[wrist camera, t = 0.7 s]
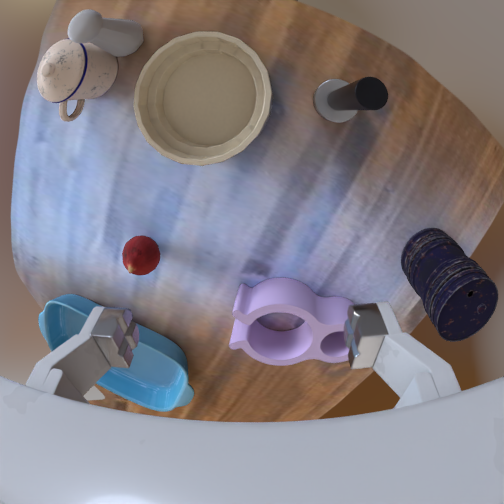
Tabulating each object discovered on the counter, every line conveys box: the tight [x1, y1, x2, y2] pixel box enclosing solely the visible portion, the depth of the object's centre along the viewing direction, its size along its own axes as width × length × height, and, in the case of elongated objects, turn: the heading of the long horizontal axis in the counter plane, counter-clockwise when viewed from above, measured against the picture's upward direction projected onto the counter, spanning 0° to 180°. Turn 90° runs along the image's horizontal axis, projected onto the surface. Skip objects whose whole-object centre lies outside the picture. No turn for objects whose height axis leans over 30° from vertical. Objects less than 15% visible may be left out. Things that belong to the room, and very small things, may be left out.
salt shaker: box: [68, 10, 144, 57], centre depth 26 cm, size 6×6×13 cm
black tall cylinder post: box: [313, 77, 388, 122], centre depth 26 cm, size 6×6×18 cm
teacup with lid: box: [37, 38, 118, 122], centre depth 29 cm, size 12×9×12 cm
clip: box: [229, 278, 355, 365], centre depth 46 cm, size 20×12×7 cm, turn 84°
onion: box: [122, 236, 160, 275], centre depth 42 cm, size 6×6×8 cm
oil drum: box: [401, 228, 498, 342], centre depth 33 cm, size 10×10×18 cm
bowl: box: [133, 32, 274, 166], centre depth 32 cm, size 16×16×6 cm
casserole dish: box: [38, 294, 194, 412], centre depth 55 cm, size 37×22×7 cm, turn 67°
